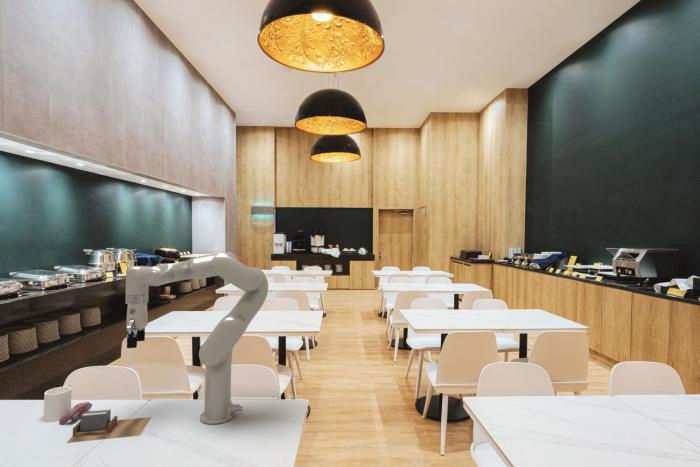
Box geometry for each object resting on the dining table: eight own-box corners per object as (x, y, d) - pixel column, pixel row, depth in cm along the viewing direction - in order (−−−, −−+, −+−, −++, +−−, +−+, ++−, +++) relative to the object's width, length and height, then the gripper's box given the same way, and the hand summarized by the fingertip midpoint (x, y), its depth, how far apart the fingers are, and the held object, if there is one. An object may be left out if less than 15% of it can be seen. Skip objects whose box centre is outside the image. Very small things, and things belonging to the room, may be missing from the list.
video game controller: (66, 429, 138) (74, 412, 138) (56, 422, 139) (64, 406, 139) (89, 417, 148) (96, 401, 148) (80, 411, 149) (87, 395, 148)
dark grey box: (110, 426, 135) (110, 408, 135) (106, 431, 132) (106, 413, 132) (84, 429, 133) (85, 410, 133) (80, 434, 130) (80, 415, 130)
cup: (81, 407, 153) (82, 382, 153) (61, 421, 141) (62, 394, 141) (59, 408, 152) (60, 383, 152) (38, 422, 140) (38, 395, 140)
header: (151, 419, 143) (151, 408, 143) (139, 438, 129) (140, 426, 129) (85, 425, 138) (85, 414, 138) (65, 445, 124) (66, 433, 124)
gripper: (140, 302, 136) (140, 350, 136) (154, 295, 153) (153, 338, 153) (117, 302, 134) (116, 351, 134) (133, 295, 151) (132, 339, 151)
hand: (136, 344), depth 143 cm, fingers open, 9 cm apart
